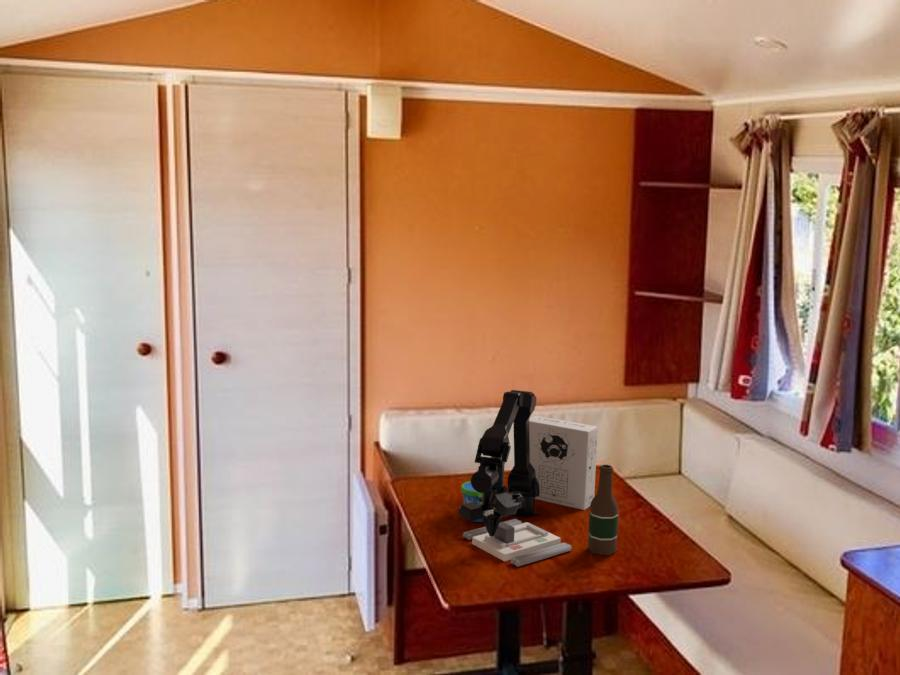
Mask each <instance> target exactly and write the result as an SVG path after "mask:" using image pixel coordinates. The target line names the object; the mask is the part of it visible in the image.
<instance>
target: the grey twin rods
mask: <svg viewBox="0 0 900 675" xmlns="http://www.w3.org/2000/svg"><path fill="white" fill-rule="evenodd" d="M503 522H504V523H506V524H508V525H510V526H515V525H519V524H522V520H518V518H512V519H508V520H505V521H503ZM485 533H488V531H487V529H486V527H485V526H483V527H478V528H474V529H471V530H467V531H464V532H463V533H462V537H463V538H464V539H467V540H468V541H471V540H472V537H474V536H478V535H482V534H485ZM572 549H573V547H572V545H571V544H569V543H567V542H561V543H560V544H557V545H554V546H550V547H547V548H544V549H540V550H537V551H533V552H530V553H527V554H523V555H520V556H516V557H513V558H511V560H509V561H510V563H511V565H515V567H519V568H520V567H522V566H525V565H529V564H532V563H535V562H539V561H541V560H545V559H547V558H551V557H555V556H557V555H561V554H564V553H568V552H571V551H572Z"/></svg>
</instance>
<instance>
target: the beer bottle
mask: <svg viewBox="0 0 900 675" xmlns="http://www.w3.org/2000/svg"><path fill="white" fill-rule="evenodd" d="M598 469H599V479H598V487H597V491H596V494H595V495H594V498H593V500H592V502H591V504H590V506H589V516H588V518H589V519H588V535H587V536H588V539H587V548H588V550H589V552H590V551H591V552H592V553H591V552H590V553H591V554H594V553H596V554H595V555H597V554H599V555H598V556H600V555H605V556H612V555H613V554H615V553H616V552H617V546H618V545H617V543H618V530H619V529H618V528H619V505H618V503H617V500H616V498H615V496H614V493H613V472H614V468H613V466H612V465H610V464H601V465H599V468H598ZM614 552H615V553H614ZM612 553H613V554H612ZM611 554H612V555H611Z"/></svg>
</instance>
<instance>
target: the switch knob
mask: <svg viewBox="0 0 900 675" xmlns="http://www.w3.org/2000/svg"><path fill="white" fill-rule="evenodd" d="M494 538H496V539H498V540H500V541H502V542H504V543H506V544H507V543H511V542H514V527H512V526H510V525H508V524H506V523H504V521H500V522H499V525H498V527H497V530H496V532H495V535H494Z"/></svg>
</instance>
